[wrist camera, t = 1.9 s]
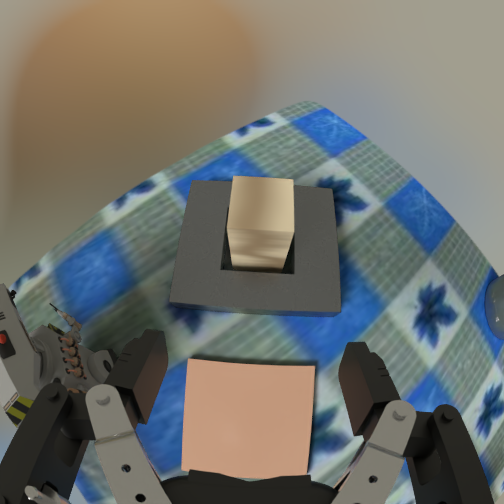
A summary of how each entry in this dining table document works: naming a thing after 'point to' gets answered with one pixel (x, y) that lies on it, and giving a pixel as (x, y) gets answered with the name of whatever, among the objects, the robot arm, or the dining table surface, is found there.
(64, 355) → the figurine
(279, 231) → the beech peg
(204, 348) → the dining table surface
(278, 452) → the terracotta tile
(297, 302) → the socket block
